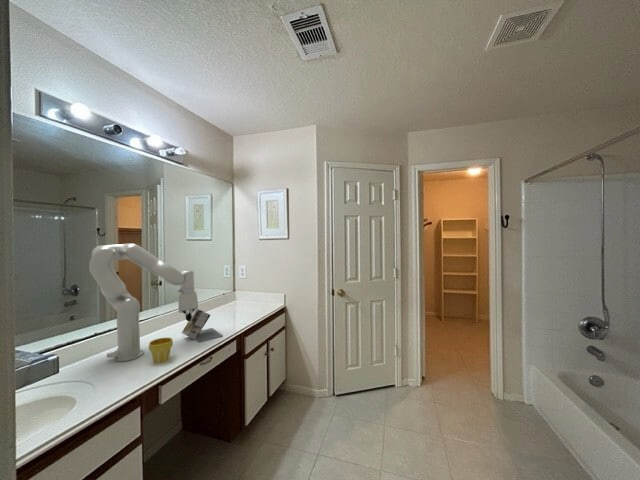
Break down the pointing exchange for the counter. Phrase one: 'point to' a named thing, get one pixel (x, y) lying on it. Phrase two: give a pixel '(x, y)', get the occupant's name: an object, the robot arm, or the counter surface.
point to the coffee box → (196, 324)
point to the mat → (208, 335)
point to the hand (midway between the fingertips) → (188, 320)
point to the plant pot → (160, 349)
